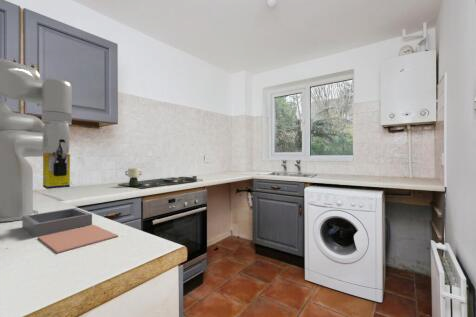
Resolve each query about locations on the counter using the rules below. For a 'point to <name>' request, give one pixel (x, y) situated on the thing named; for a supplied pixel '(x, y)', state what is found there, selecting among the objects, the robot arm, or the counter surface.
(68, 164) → the supplement box
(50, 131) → the robot arm
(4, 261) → the counter surface
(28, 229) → the tray
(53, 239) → the mat
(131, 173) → the character mug
